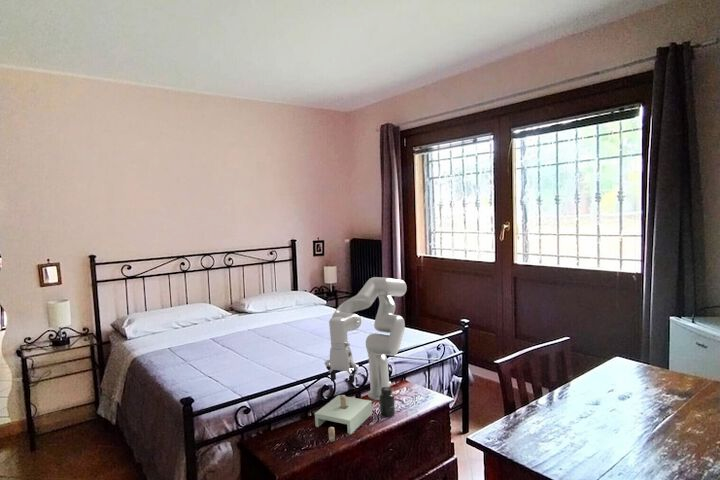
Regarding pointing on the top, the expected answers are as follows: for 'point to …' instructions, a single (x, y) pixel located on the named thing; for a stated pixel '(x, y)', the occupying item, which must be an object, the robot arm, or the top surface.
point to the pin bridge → (345, 412)
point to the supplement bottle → (387, 402)
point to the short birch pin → (331, 434)
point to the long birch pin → (343, 401)
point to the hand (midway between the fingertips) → (342, 381)
